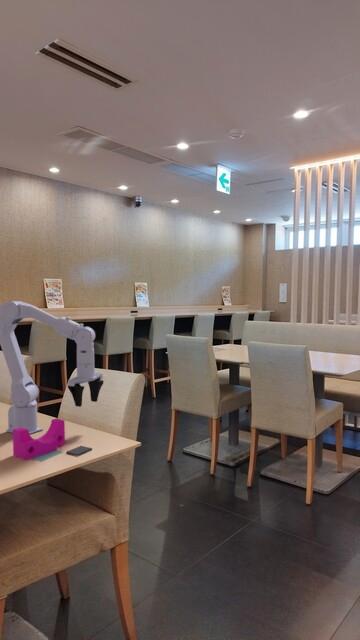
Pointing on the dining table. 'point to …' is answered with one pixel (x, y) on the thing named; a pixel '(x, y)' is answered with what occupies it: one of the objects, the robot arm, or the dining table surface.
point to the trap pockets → (79, 450)
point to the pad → (47, 455)
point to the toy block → (38, 440)
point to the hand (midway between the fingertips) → (86, 403)
